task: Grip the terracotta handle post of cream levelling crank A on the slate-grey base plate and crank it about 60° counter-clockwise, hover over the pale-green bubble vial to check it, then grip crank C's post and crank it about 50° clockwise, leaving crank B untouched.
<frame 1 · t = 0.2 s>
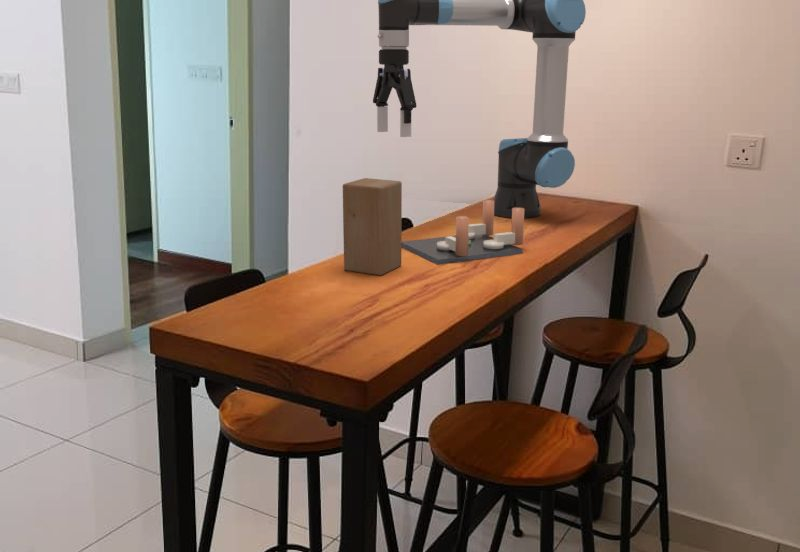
hand: (393, 134, 205), 28 cm above the table, fingers open, 13 cm apart
knob c: (453, 232, 193), point 6 cm above the table, hinge at 0.0°
base plate: (460, 249, 201), on the table
knob b: (504, 227, 198), point 6 cm above the table, hinge at 0.0°
wooden block: (373, 269, 185), on the table
knob a: (475, 219, 208), point 6 cm above the table, hinge at 0.0°
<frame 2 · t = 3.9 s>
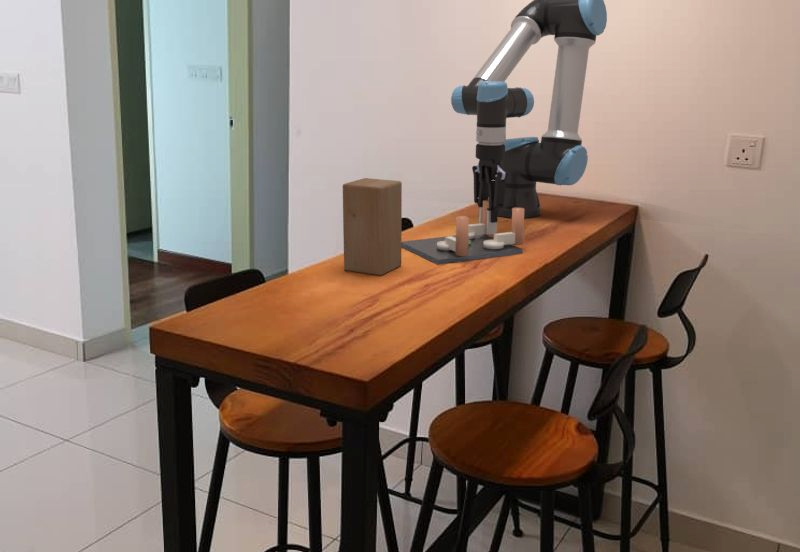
hand: (487, 232, 211), 2 cm above the table, fingers closed on knob a, 3 cm apart
knob a: (475, 219, 208), point 6 cm above the table, hinge at 0.1°, touching gripper
everything else where it was.
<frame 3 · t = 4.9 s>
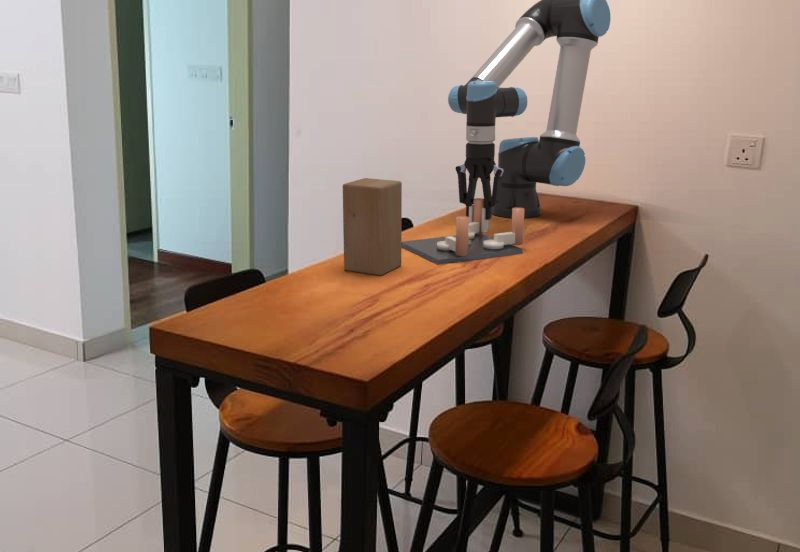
hand: (478, 230, 213), 2 cm above the table, fingers closed on knob a, 3 cm apart
knob a: (471, 218, 209), point 6 cm above the table, hinge at 27.4°, touching gripper
everything else where it was.
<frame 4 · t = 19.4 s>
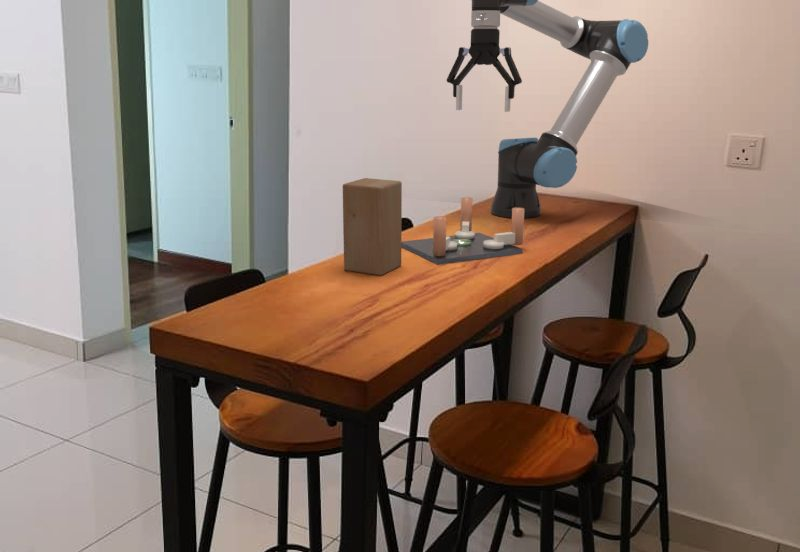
hand: (482, 110, 215), 33 cm above the table, fingers open, 13 cm apart
knob c: (444, 232, 193), point 6 cm above the table, hinge at -45.1°
knob a: (465, 217, 210), point 6 cm above the table, hinge at 56.5°
everything else where it was.
at the end: knob a at +56° (first picture: +0°); knob c at -45° (first picture: +0°); knob b at +0° (first picture: +0°) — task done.
